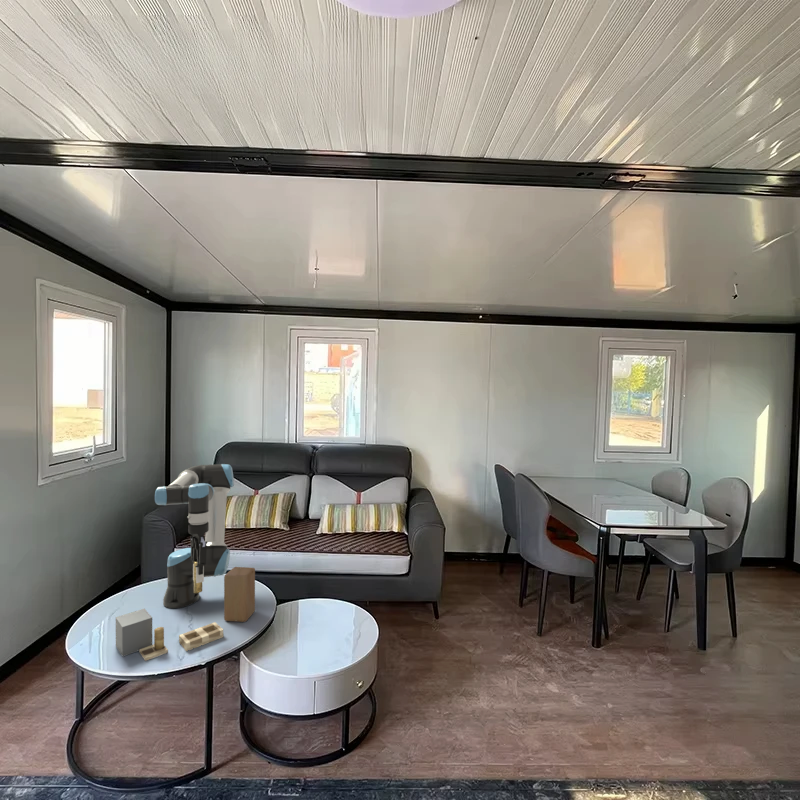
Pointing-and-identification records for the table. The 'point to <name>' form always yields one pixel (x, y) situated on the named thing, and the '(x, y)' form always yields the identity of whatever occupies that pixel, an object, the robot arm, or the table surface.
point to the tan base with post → (155, 646)
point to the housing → (133, 631)
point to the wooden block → (239, 594)
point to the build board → (200, 636)
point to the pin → (196, 585)
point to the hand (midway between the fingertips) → (198, 580)
